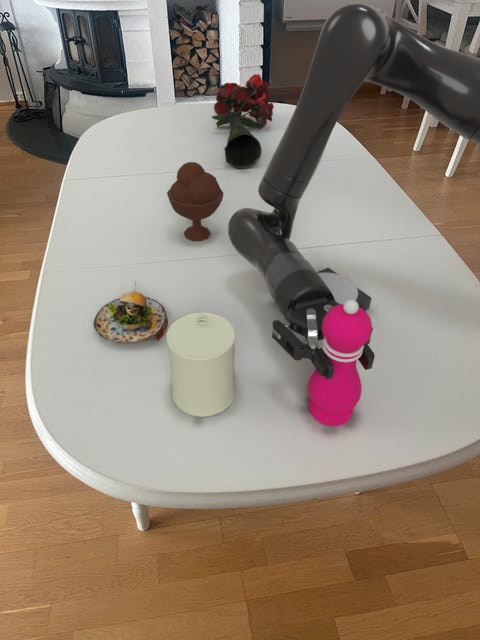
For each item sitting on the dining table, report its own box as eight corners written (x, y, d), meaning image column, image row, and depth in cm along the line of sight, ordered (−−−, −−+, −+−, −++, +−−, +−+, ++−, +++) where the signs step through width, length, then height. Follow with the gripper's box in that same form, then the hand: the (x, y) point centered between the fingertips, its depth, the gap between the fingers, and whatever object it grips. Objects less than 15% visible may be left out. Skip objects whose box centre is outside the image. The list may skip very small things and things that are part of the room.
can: (234, 368, 80) (234, 308, 72) (236, 416, 73) (237, 356, 65) (173, 369, 79) (167, 309, 71) (170, 418, 72) (163, 357, 64)
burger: (81, 326, 86) (72, 291, 81) (137, 294, 93) (132, 259, 88) (126, 362, 80) (119, 326, 75) (183, 325, 87) (180, 290, 82)
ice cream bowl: (162, 243, 105) (155, 174, 95) (184, 216, 113) (179, 150, 103) (211, 253, 103) (209, 183, 93) (230, 225, 111) (230, 158, 101)
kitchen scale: (326, 277, 97) (328, 264, 96) (369, 308, 91) (372, 295, 89) (276, 300, 92) (277, 287, 90) (318, 335, 86) (320, 322, 84)
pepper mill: (340, 438, 70) (365, 330, 57) (295, 412, 73) (309, 304, 60) (364, 405, 75) (394, 297, 61) (321, 382, 78) (340, 274, 64)
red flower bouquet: (247, 195, 137) (232, 135, 161) (304, 150, 130) (279, 95, 154) (207, 155, 127) (198, 98, 152) (266, 104, 120) (246, 53, 145)
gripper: (252, 277, 73) (300, 361, 61) (344, 259, 76) (407, 335, 64) (250, 317, 78) (295, 402, 66) (337, 299, 81) (394, 376, 69)
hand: (350, 369), depth 65 cm, fingers closed on pepper mill, 5 cm apart
